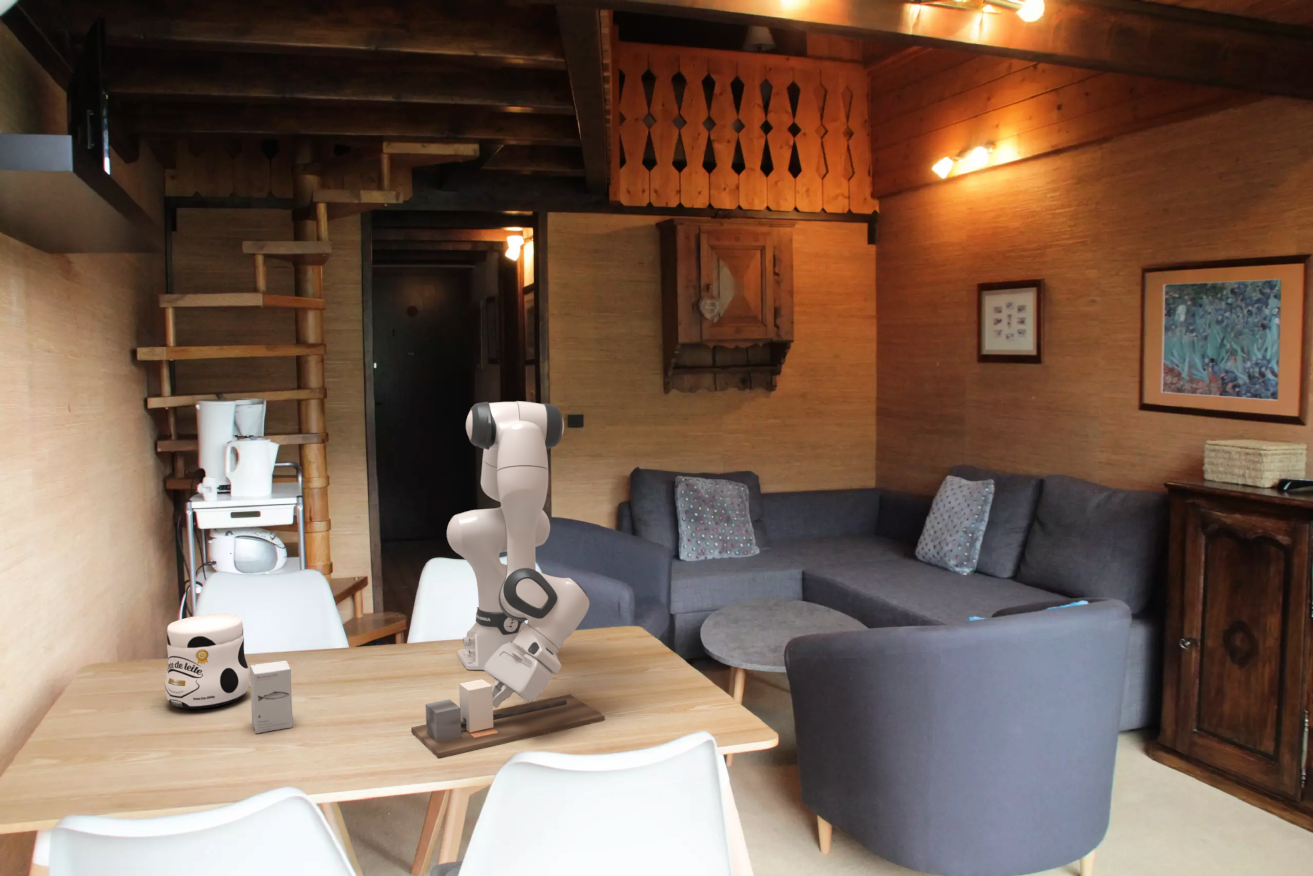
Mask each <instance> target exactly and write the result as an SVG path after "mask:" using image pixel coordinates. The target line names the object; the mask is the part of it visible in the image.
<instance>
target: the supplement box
mask: <svg viewBox="0 0 1313 876" xmlns="http://www.w3.org/2000/svg"><path fill="white" fill-rule="evenodd" d="M291 672H292V671H291V667H290V665H289V663H288V660H281V661H272V662H264V663H256V664H250V665H249V673H250V681H249V683H250V699H251V700H250V701H251V724H252V726H253V729H255V730H254V732H255V734H256V733H257V734H260V733H265V732H271V731H278V730H284V729H285V730H286V729H292V728H293V726H294V724H293V723H294V722H293V720H294V719H293V703H292V697H293V696H292V673H291Z"/></svg>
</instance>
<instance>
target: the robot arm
mask: <svg viewBox="0 0 1313 876" xmlns="http://www.w3.org/2000/svg"><path fill="white" fill-rule="evenodd" d="M465 430H466V434H467V436H468V439H469V442H470V443H471V444H472V445H473V446H475V447H476V448H479V449H480V448H481V449H482V450H483V453H482V460H481V461H482V464H481V473H480V474H481V475H480V485H481V486H480V487H481V489H482V491H483V492H484V494H485V495H487V497H489V498H491V499H492V500H495V501H497V502H500V507H496V508H482V509H473V510H472V509H471V510H468V511H464V512H461V513H457V514H455V515H453V516H452V517H451V518H450V521H449V522H448V525H447V529H446V538H447V542H448V544H449V546H450V548H451V550H453V551H454V552H455V553H456V554H458V555H459V556H460V557H462V558H463V559H464V560H465V561H466V562H467V563H469V566H470V567H471V568H472V570H473V573H474V575H475V579H476V586H477V597H478V606H477V607H476V613H475V623H474V624H473V626H471V627H470V629H469V630H468V631H467V632H466V636H465V637H463V638H462V645H463V648H461V649H459V650H457V657H458V658H459V659H460V661H461V662H462V665H463V666H464V668H465V669H466V670H471V671H475V670H480V671H484V672H485V673H487V674H488V676H490V677H491V678H493V679H494V680H495V681H494V683H493V685H492V695H493V708H495V709H498V708H499V707H500V706H501V704H502V703H503V702H504V701H506V700H507V699H509V698H510V697H511V696H512V695H513V694H516V695H518V696H519V697H521V698H523V699H524V700H525V701H527V703H530V702H534V701H535V700H536V699H537V698H538V697H540V694H541V693H542V692H543V691H544V690H545V688H546V687H547V685H548V684H549V683H550V682H551V680H552V678H553V675H556V674H558V673H559V671H560V670H561V669H562V664H561V662H560V660H559V658H558V655H557V654H558V653H559V652H560V650H561V649H562V646H563V644H564V642H565V640H567V638H569V637H570V636H572V634H573V633H574V632H575V631H576V629H577V628H578V626H579V625H580V623H581V622H582V620H584V618H585V616H586V614H587V612H588V610H589V608H590V598H589V595H588V594H587V592H586V591H585V589H584V588H583V587H582V586H581V585H580V584H579V583H578V582H576V580H574V579H572V578H570V577H558V576H553V575H548V574H546V573H543V572H541V571H538V570H537V569H536V565H537V564H536V559H537V558H536V547H540V546H542V545H544V544H545V543H546V542H547V540H548V538H549V536H550V532H551V523H550V519H549V517H548V515H547V513H546V512H545V510H544V506H545V503H546V502H547V501H546V500H547V494H548V489H549V488H548V486H549V462H548V461H549V460H548V453H547V449H552V448H555V447H557V446H558V444H559V443H560V442H561V440H562V437H563V434H564V430H565V423H564V418H563V415H562V411H561V410H560V408H559V407H558V406H556V405H554V404H550V403H545V402H543V403H537V402H533V401H519V400H516V401H501V402H500V401H499V402H498V401H497V402H489V401H483V402H478V403H474V405H473V406H472V407H470V409H469V412H468V415H467V418H466V421H465ZM501 553H502V554H503V553H506V564H505V563H502V562H501V558H500V554H501ZM526 621H527V622H526Z"/></svg>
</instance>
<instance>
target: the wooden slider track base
mask: <svg viewBox="0 0 1313 876" xmlns="http://www.w3.org/2000/svg"><path fill="white" fill-rule="evenodd" d="M605 716H606V715H605V714H603V713H601V712H600V711H599V710H596V708H593V707H591V706H590V705H588V704H587V703H585V702H583V701H582V700H581V699H579V698H577V697H575V696H573V694H570V693H569V694H564V695H560V696H555V697H549V698H545V699H540V700H536V701H535V700H534V701H531V702H524V703H522V704H516V705H512V706H511V705H510V706H508V707H507V706H506V707H502V708H496V709H493V728H488V729H483V730H479V731H474V732H469V731H467V730H466V727H464V726H466V721H463V722H461V711H460V705H457V703H455V702H453V701H452V700H451V699H446V700H445V699H444V700H441V701H439V700H438V701H434V702H429V703H426V704H425V724H420V725H417V726H411V727H410V731H411V733H412V734H413V736H415V737H416V739H418V740H419V741H420V742H421V743H422V745H424V746H425V747H426V748H427V749H428V750H429V751H430V752H431V753H432V754H433V755H434V754H435V755H436V756H435V755H434V756H435V757H436V758H437V759H441V758H445V757H449V756H454V755H458V754H462V753H467V752H472V751H476V750H480V749H485V748H489V747H492V746H493V747H494V746H498V745H502V744H506V743H510V742H515V741H519V740H524V739H528V738H532V737H537V736H541V735H546V734H549V733H553V732H559V731H563V730H567V729H571V728H575V727H580V726H584V725H589V724H593V723H597V722H598V723H599V722H601V721H605V718H606V717H605Z"/></svg>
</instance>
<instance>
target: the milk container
mask: <svg viewBox="0 0 1313 876" xmlns="http://www.w3.org/2000/svg"><path fill="white" fill-rule="evenodd" d="M166 641H167V643H166V644H167V646H166V650H167V670H166V674H165V677H164V692H165V696H166V699H167V701H168V703H169V704H170V705H173V706H174V707H176V708H179V709H185V710H186V709H188V710H190V709H192V710H193V709H195V710H197V709H198V710H199V709H200V710H201V709H208V708H209V709H210V708H211V709H212V708H215V707H221V706H223V705H227V704H230V703H232V702H233V703H234V702H235V701H237V700H239V699H240V698H242V697H244V696H245V694H246V693H247V692H248V690H249V687H250V667H249V666H248V665H249V664H248V663H247V659H246V656H245V637H244V626H243V621H242V617H241V616H238V615H235V614H227V613H218V614H217V613H216V614H213V613H212V614H202V615H197V616H190V617H189V616H188V617H186V618H182V619H178V620H176V621H173V622H171V623H170V624H168V625H167V629H166Z"/></svg>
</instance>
